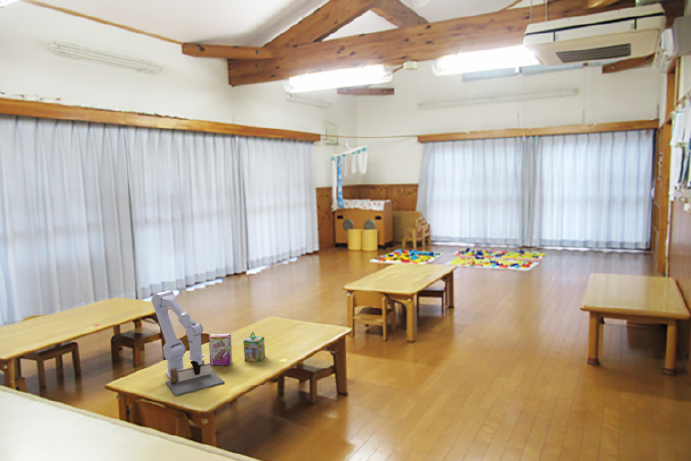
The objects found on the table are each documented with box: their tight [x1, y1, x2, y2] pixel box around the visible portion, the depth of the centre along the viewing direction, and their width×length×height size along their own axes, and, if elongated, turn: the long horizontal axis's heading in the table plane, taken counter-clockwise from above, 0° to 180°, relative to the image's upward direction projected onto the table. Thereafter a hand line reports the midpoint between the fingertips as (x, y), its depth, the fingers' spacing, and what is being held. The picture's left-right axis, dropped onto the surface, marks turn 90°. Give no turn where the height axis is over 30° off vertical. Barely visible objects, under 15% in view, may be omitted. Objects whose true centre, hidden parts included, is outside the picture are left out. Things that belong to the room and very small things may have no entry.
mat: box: [165, 369, 225, 397], centre depth 235 cm, size 18×24×1 cm
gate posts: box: [170, 359, 205, 385], centre depth 238 cm, size 3×17×8 cm, turn 133°
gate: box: [177, 362, 212, 382], centre depth 239 cm, size 16×1×5 cm, turn 125°
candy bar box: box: [208, 333, 233, 367], centre depth 258 cm, size 11×5×16 cm, turn 92°
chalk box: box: [243, 331, 266, 362], centre depth 265 cm, size 9×9×15 cm
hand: (197, 374), depth 239 cm, fingers closed
